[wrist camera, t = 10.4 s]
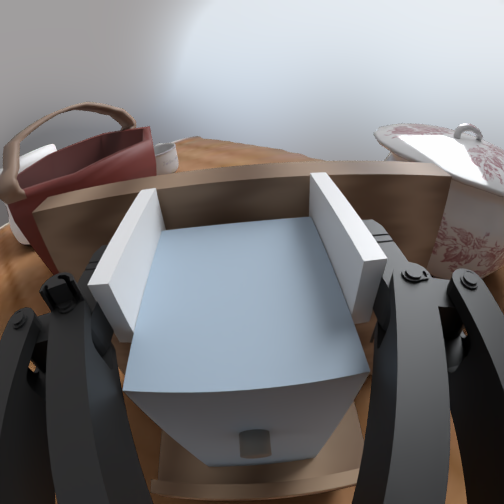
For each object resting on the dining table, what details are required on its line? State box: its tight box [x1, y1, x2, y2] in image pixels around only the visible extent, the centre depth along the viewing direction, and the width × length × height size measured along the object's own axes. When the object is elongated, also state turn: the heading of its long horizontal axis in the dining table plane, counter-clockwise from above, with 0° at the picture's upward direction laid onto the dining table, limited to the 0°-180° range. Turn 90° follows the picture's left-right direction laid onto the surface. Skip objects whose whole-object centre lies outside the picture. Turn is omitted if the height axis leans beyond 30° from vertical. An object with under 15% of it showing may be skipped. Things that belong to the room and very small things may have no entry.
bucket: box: [0, 102, 157, 275], centre depth 34 cm, size 24×22×25 cm
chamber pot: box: [373, 123, 504, 280], centre depth 33 cm, size 28×28×21 cm
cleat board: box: [32, 161, 452, 501], centre depth 17 cm, size 24×16×20 cm, turn 93°
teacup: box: [154, 143, 178, 175], centre depth 70 cm, size 14×11×8 cm
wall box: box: [123, 217, 370, 467], centre depth 14 cm, size 9×7×13 cm
